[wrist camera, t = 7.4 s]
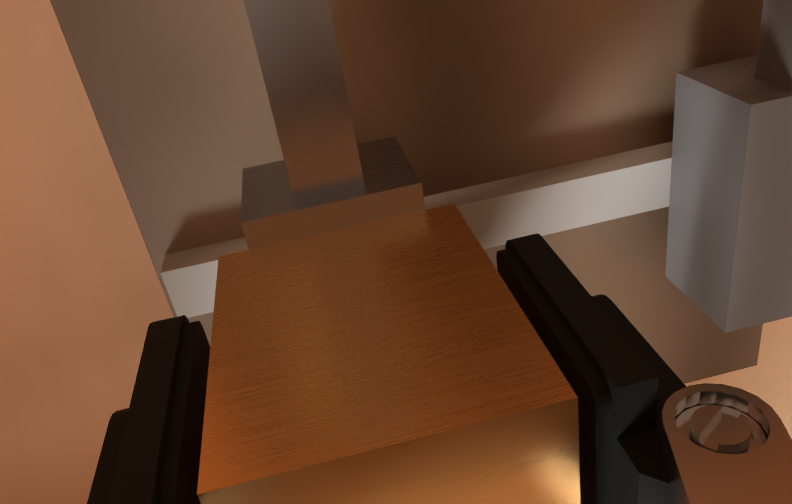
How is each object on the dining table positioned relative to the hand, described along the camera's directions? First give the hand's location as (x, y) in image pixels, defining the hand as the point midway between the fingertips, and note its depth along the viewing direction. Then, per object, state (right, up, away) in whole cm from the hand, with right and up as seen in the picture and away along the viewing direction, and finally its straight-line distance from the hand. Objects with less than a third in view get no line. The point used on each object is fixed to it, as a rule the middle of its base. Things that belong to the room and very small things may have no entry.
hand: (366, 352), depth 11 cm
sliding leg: (-1, +4, +1) cm, 5 cm away
